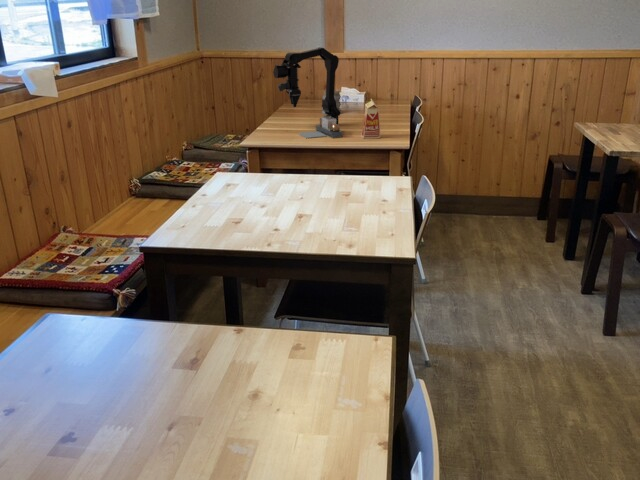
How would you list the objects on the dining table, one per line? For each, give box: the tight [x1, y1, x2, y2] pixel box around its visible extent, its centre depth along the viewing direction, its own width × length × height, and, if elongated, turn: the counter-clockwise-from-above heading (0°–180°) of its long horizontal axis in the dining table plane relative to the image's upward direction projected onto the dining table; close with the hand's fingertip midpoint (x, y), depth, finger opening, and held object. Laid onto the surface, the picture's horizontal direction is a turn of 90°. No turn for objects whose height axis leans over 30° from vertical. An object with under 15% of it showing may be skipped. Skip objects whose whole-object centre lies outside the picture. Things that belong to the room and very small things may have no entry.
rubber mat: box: [297, 130, 328, 140], centre depth 315 cm, size 12×12×1 cm
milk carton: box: [360, 98, 381, 140], centre depth 307 cm, size 9×9×20 cm
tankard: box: [321, 89, 342, 115], centre depth 376 cm, size 20×13×15 cm, turn 179°
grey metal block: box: [321, 114, 336, 129], centre depth 316 cm, size 8×5×6 cm, turn 24°
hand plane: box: [315, 117, 344, 139], centre depth 317 cm, size 22×6×7 cm, turn 24°
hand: (293, 105), depth 322 cm, fingers open, 9 cm apart
